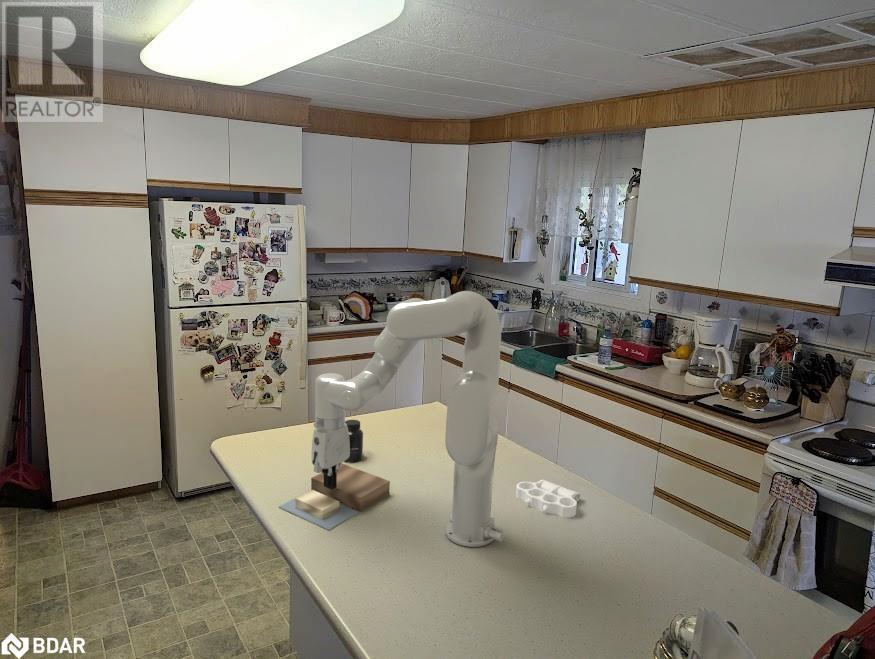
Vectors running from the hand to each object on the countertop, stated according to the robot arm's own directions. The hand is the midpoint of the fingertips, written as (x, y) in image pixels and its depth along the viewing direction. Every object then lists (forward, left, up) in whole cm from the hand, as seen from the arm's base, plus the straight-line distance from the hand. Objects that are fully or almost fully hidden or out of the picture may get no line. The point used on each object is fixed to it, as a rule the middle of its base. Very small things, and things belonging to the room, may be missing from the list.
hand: (330, 486), depth 157 cm
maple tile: (0, +4, -3) cm, 5 cm away
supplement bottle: (+15, -25, -5) cm, 30 cm away
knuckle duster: (-46, -38, -6) cm, 60 cm away
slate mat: (0, +4, -5) cm, 6 cm away
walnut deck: (0, -8, -5) cm, 9 cm away
